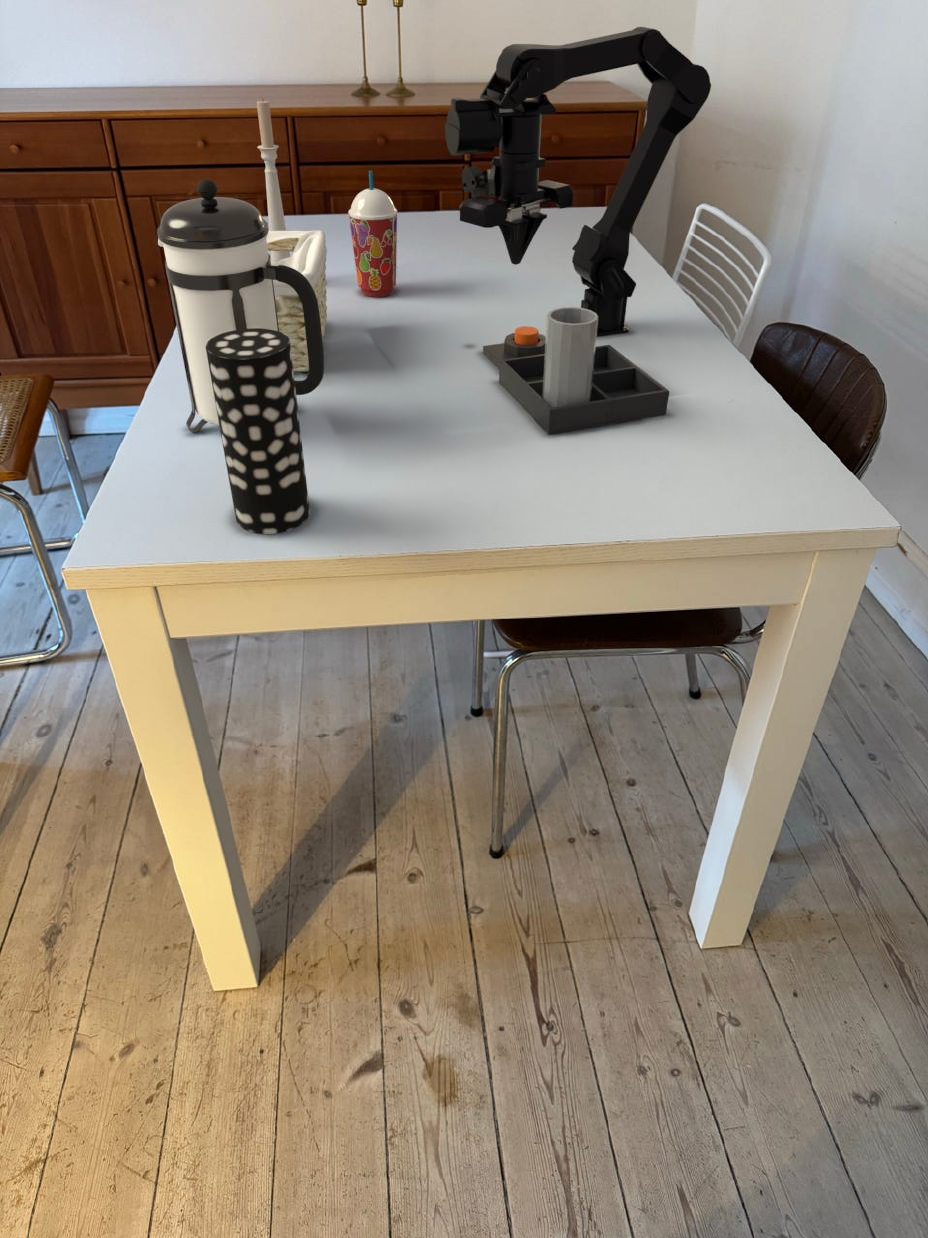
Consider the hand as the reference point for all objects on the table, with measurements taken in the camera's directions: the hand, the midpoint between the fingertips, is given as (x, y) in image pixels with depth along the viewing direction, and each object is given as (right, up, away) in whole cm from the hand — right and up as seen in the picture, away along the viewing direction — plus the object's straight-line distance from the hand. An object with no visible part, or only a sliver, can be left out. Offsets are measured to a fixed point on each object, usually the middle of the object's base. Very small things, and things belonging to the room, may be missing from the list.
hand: (515, 263), depth 139 cm
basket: (-37, -11, +5) cm, 39 cm away
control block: (+2, -14, +2) cm, 14 cm away
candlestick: (-41, +7, +29) cm, 51 cm away
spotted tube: (-30, -42, -35) cm, 62 cm away
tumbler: (+6, -26, -15) cm, 30 cm away
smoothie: (-23, +5, +26) cm, 35 cm away
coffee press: (-36, -27, -16) cm, 48 cm away
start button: (+2, -12, 0) cm, 12 cm away
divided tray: (+9, -23, -10) cm, 26 cm away
